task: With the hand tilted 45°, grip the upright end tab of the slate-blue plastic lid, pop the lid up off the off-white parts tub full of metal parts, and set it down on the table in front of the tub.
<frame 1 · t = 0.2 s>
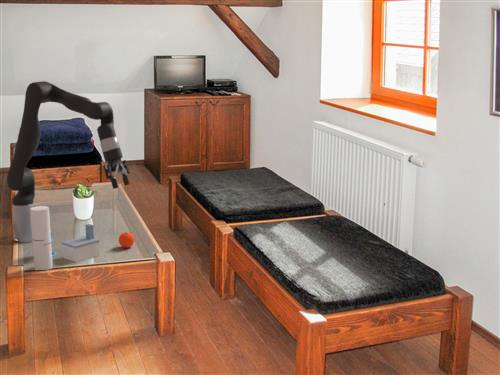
hand: (121, 186, 313), 31 cm above the table, tool tilted 20°, fingers open, 8 cm apart
clementine: (127, 247, 333), on the table
chair: (44, 256, 320), on the table
tub: (81, 256, 320), on the table
cylindrical container: (43, 268, 305), on the table
lid: (80, 246, 319), point 5 cm above the table, touching tub
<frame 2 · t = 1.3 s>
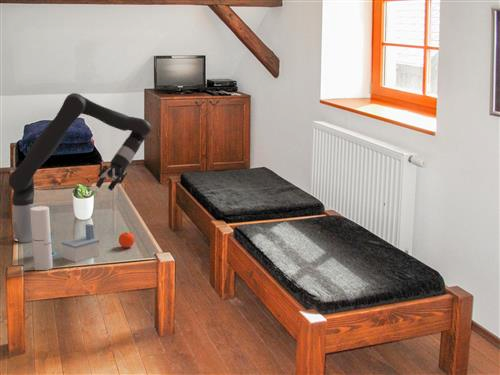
hand: (103, 188, 327), 27 cm above the table, tool tilted 45°, fingers open, 8 cm apart
nothing on the table moved.
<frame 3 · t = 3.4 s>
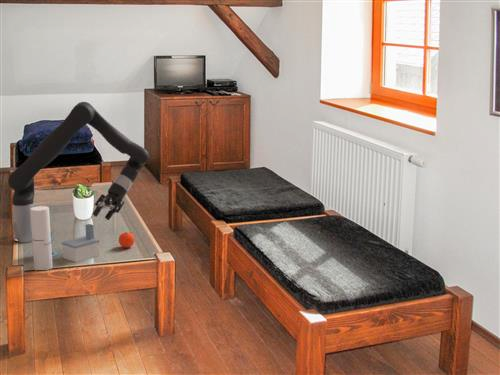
hand: (100, 217, 324), 15 cm above the table, tool tilted 45°, fingers open, 8 cm apart
nothing on the table moved.
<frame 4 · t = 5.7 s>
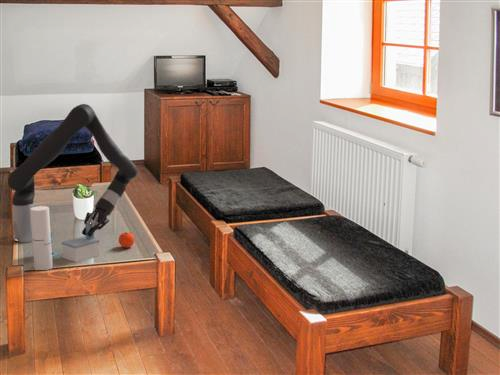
hand: (86, 235, 320), 9 cm above the table, tool tilted 45°, fingers closed on lid, 3 cm apart
lid: (80, 246, 319), point 5 cm above the table, touching gripper, tub
everything else where it was.
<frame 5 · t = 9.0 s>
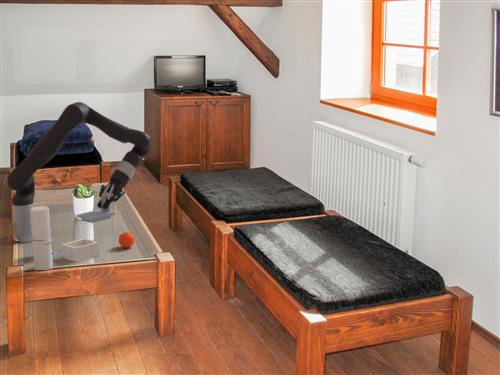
hand: (101, 207, 310), 23 cm above the table, tool tilted 45°, fingers closed on lid, 3 cm apart
lid: (96, 219, 309), point 18 cm above the table, touching gripper
everything else where it was.
when the fingers open (7 cm above the table, at t = 12.4 s): lid drops 3 cm, on the table.
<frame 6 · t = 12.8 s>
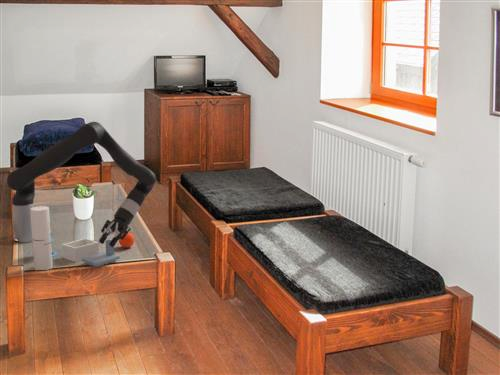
hand: (105, 244, 312), 7 cm above the table, tool tilted 45°, fingers open, 6 cm apart
lid: (100, 262, 311), on the table
everything else where it was.
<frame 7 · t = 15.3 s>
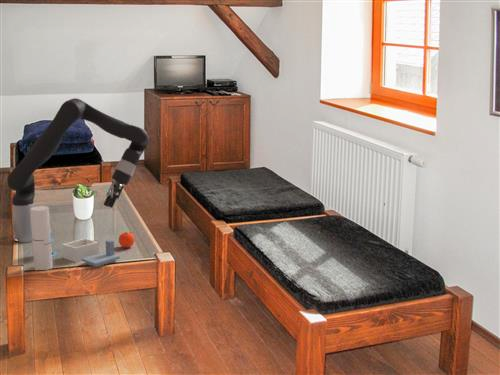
hand: (107, 206, 319), 21 cm above the table, tool tilted 30°, fingers open, 8 cm apart
nothing on the table moved.
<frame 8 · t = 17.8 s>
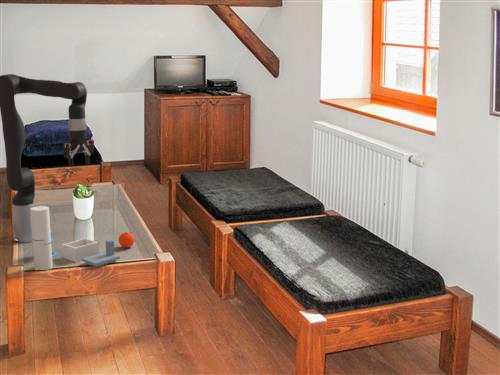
hand: (79, 165, 330), 36 cm above the table, tool pointing down, fingers open, 8 cm apart
nothing on the table moved.
at the end: lid on the table; lid touching table; the gripper is holding nothing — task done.
